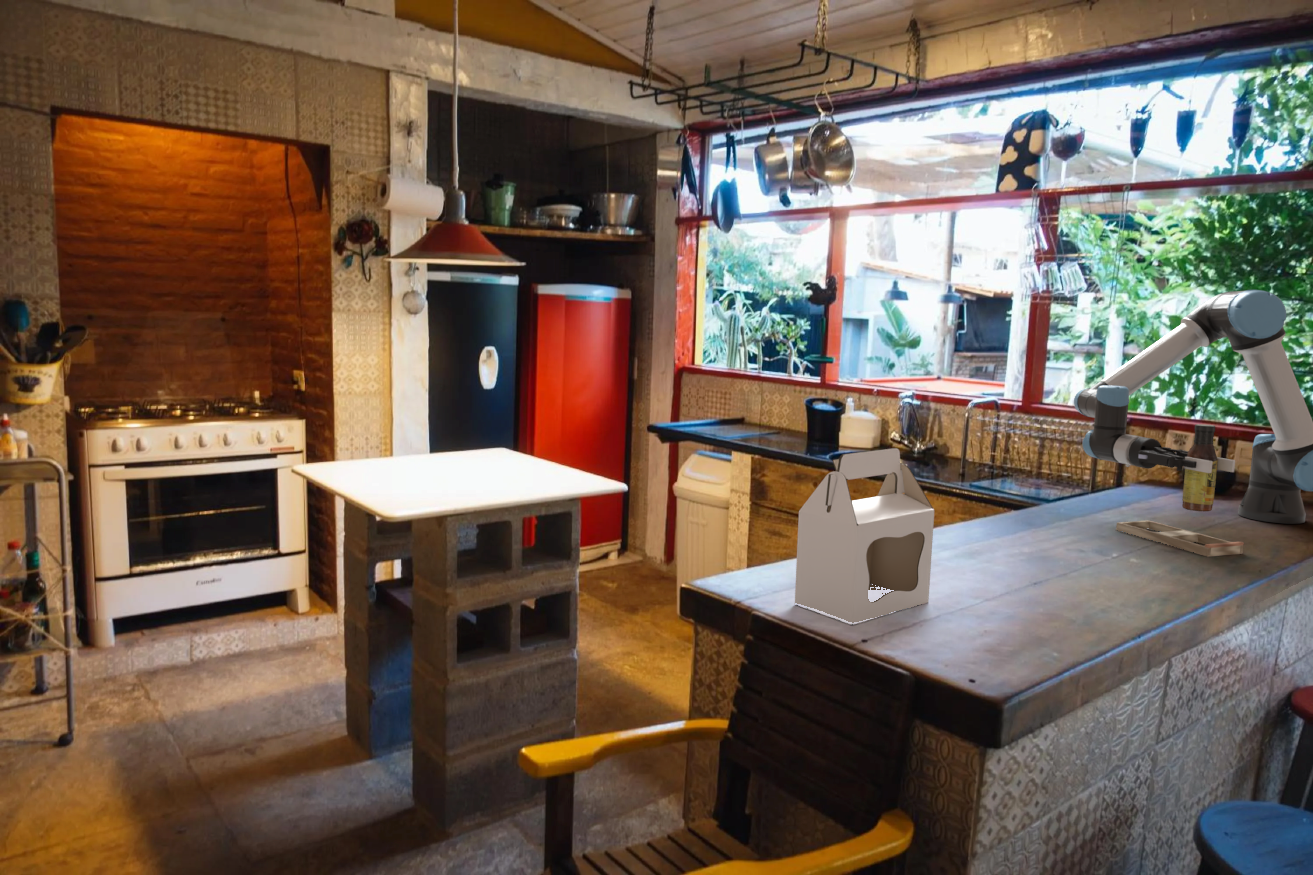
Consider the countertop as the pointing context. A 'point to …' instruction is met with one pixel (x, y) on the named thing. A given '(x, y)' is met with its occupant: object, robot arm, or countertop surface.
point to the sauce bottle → (1200, 483)
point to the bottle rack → (1181, 538)
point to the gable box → (865, 540)
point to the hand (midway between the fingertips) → (1222, 466)
